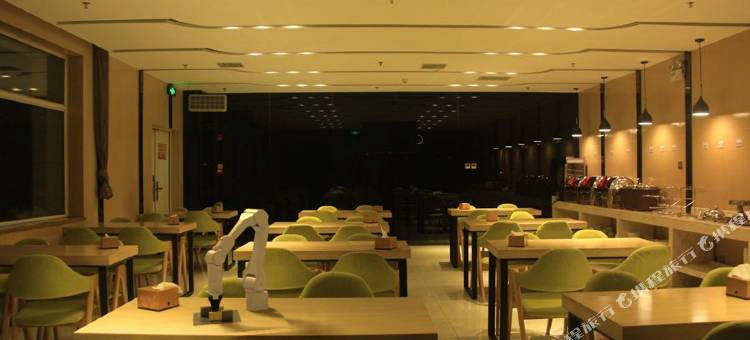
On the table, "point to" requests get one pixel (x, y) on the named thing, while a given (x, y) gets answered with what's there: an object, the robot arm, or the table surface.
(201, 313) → the knob
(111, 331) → the table surface
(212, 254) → the robot arm
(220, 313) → the knob
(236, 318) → the levelling plate
